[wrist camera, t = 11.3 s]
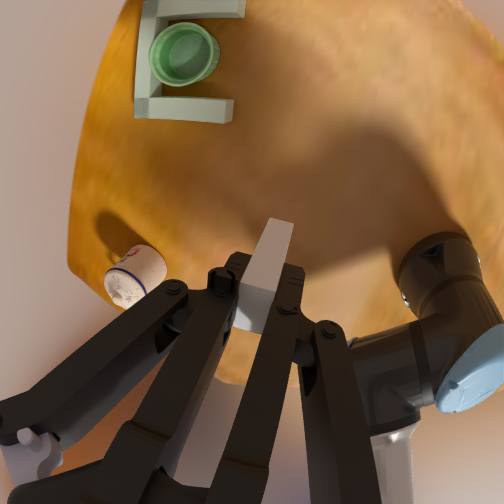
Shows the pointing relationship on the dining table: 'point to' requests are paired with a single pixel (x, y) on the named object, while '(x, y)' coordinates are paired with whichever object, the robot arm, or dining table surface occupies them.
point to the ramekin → (183, 54)
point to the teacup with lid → (135, 275)
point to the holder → (150, 88)
